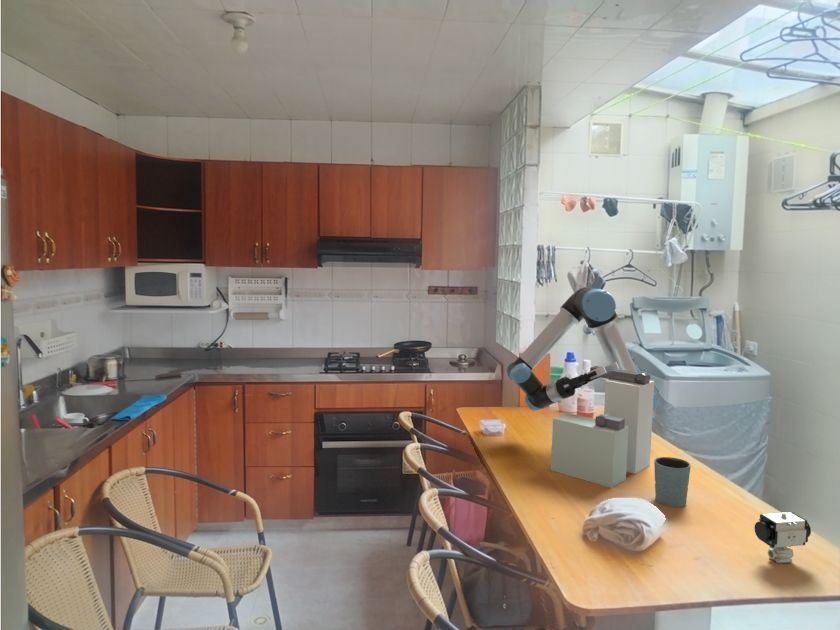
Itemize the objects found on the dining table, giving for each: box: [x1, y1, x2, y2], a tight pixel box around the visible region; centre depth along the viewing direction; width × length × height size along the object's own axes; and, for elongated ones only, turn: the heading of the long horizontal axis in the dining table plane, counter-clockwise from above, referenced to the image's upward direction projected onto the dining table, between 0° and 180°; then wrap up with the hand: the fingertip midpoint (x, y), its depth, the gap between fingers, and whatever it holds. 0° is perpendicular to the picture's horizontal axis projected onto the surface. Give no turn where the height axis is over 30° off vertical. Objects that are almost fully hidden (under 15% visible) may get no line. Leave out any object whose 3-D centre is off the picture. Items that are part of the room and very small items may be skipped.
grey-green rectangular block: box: [550, 412, 629, 489], centre depth 198 cm, size 22×10×21 cm, turn 46°
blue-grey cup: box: [653, 456, 692, 508], centre depth 178 cm, size 10×10×12 cm
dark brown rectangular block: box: [589, 365, 651, 385], centre depth 208 cm, size 20×5×3 cm, turn 46°
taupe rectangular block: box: [603, 379, 655, 475], centre depth 207 cm, size 12×12×30 cm
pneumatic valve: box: [754, 512, 812, 564], centre depth 144 cm, size 6×12×12 cm, turn 99°
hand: (611, 367), depth 210 cm, fingers open, 9 cm apart
